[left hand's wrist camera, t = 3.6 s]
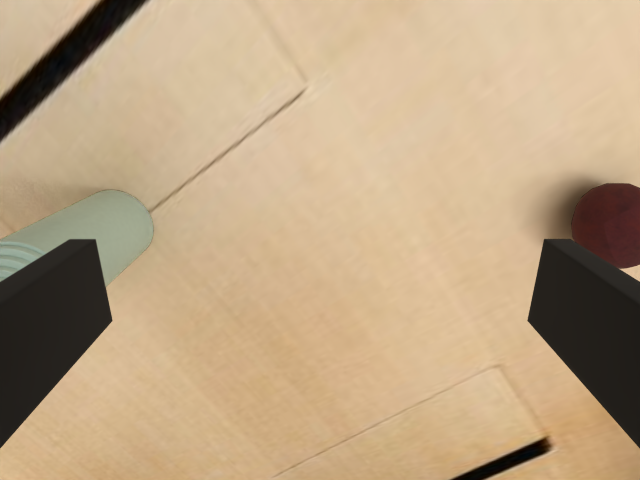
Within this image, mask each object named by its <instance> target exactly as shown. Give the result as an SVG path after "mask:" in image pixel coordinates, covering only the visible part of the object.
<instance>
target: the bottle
mask: <svg viewBox="0 0 640 480" xmlns="http://www.w3.org/2000/svg"><path fill="white" fill-rule="evenodd" d="M152 237H153V222H152V219H151V216H150V214H149V212H148V211H147V209H146V208H145V206H144V205H143V204H142V203H141V202H140V201H139V200H137V199H136V198H135V197H133V196H131V195H129V194H127V193H125V192H122V191H117V190H104V191H100V192H97V193H95V194H93V195H91V196H89V197H87V198H85V199H83V200H81V201H79V202H77V203H75V204H73V205H71V206H68V207H66V208H64V209H62V210H60V211H58V212H56V213H54V214H52V215H50V216H48V217H46V218H44V219H42V220H40V221H37V222H35V223H33V224H31V225H29V226H27V227H25V228H23V229H21V230H19V231H17V232H15V233H13V234H11V235H9V236H6V237H4V238H2V239H0V282H1V281H2V280H4V279H6V278H7V277H9V276H10V275H12V274H14V273H15V272H17V271H19V270H20V269H22V268H23V267H25V266H27V265H28V264H30V263H32V262H33V261H35V260H36V259H38V258H40V257H41V256H43V255H45V254H46V253H48V252H49V251H51V250H53V249H54V248H56V247H58V246H59V245H61V244H62V243H64V242H66V241H67V240H69V239H96V242H97V247H98V252H99V257H100V262H101V267H102V272H103V277H104V282H105V287H106V286H107V285H109V284H110V283H111V282H112V281H113V280H114V279H115V278H116V277H117V276H118V275H119V274H120V273H121V272H122V271H123V270H124V269H125V268H127V267H128V266H129V265H130V264H131V263H132V262H133V261H134V260H135V259H136V258H137V257H138V256H139V255H140V254H141V253H142V252H143V251H145V250H146V248H147V247H148V246H149V244H150V243H151V240H152Z"/></svg>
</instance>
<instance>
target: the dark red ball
mask: <svg viewBox="0 0 640 480" xmlns="http://www.w3.org/2000/svg"><path fill="white" fill-rule="evenodd" d="M571 224H572V237H573V239H574V241H575V242H576V243H578V244H579V245H581V246H582V247H584V248H586V249H587V250H589V251H591V252H592V253H594V254H595V255H597V256H599V257H600V258H602V259H604V260H605V261H607V262H608V263H610V264H612V265H613V266H615V267H617V268H619V269H622V268H629V267H634V266H637V265H640V188H639V187H636V186H634V185H631V184H623V183H607V184H604V185H601V186H598V187H595V188H593V189H591V190H590V191H589V192H588V193H586V194H585V195H584V196H583V197H582V198H581V200H580V201H579V203H578V204H577V206H576V209H575V212H574V216H573V219H572V223H571Z"/></svg>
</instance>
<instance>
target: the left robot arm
mask: <svg viewBox="0 0 640 480" xmlns="http://www.w3.org/2000/svg"><path fill="white" fill-rule="evenodd" d="M111 322H112V316H111V311H110V306H109V301H108V296H107V291H106V287H105V282H104V277H103V272H102V267H101V262H100V257H99V252H98V247H97V242H96V239H69V240H67V241H66V242H64V243H62V244H61V245H59V246H58V247H56V248H54V249H53V250H51V251H49V252H48V253H46V254H45V255H43V256H41V257H40V258H38V259H36V260H35V261H33V262H32V263H30V264H28V265H27V266H25V267H23V268H22V269H20V270H19V271H17V272H15V273H14V274H12V275H10V276H9V277H7V278H6V279H4V280H2V281H1V282H0V448H1V447H2V446H3V445H4V443H5V442H6V441H7V440H8V439H9V438H10V437H11V436H12V434H13V433H14V432H15V431H16V430H17V429H18V428H19V426H20V425H21V424H22V423H23V422H24V421H25V420H26V418H27V417H28V416H29V415H30V414H31V413H32V412H33V410H34V409H35V408H36V407H37V406H38V405H39V404H40V403H41V401H42V400H43V399H44V398H45V397H46V396H47V395H48V393H49V392H50V391H51V390H52V389H53V388H54V387H55V385H56V384H57V383H58V382H59V381H60V380H61V379H62V378H63V376H64V375H65V374H66V373H67V372H68V371H69V370H70V368H71V367H72V366H73V365H74V364H75V363H76V362H77V360H78V359H79V358H80V357H81V356H82V355H83V354H84V353H85V351H86V350H87V349H88V348H89V347H90V346H91V345H92V343H93V342H94V341H95V340H96V339H97V338H98V337H99V335H100V334H101V333H102V332H103V331H104V330H105V329H106V327H107V326H108V325H109V324H110V323H111ZM528 322H529V323H530V324H531V325H532V326H533V327H534V329H535V330H536V331H537V332H538V333H539V334H540V335H541V337H542V338H543V339H544V340H545V341H546V342H547V343H548V345H549V346H550V347H551V348H552V349H553V350H554V351H555V353H556V354H557V355H558V356H559V357H560V358H561V359H562V360H563V362H564V363H565V364H566V365H567V366H568V367H569V368H570V370H571V371H572V372H573V373H574V374H575V375H576V376H577V378H578V379H579V380H580V381H581V382H582V383H583V384H584V385H585V387H586V388H587V389H588V390H589V391H590V392H591V393H592V395H593V396H594V397H595V398H596V399H597V400H598V401H599V403H600V404H601V405H602V406H603V407H604V408H605V409H606V410H607V412H608V413H609V414H610V415H611V416H612V417H613V418H614V420H615V421H616V422H617V423H618V424H619V425H620V426H621V428H622V429H623V430H624V431H625V432H626V433H627V434H628V436H629V437H630V438H631V439H632V440H633V441H634V442H635V443H636V445H637V446H638V447H639V448H640V282H639V281H638V280H636V279H634V278H633V277H631V276H630V275H628V274H626V273H625V272H623V271H621V270H620V269H618V268H617V267H615V266H613V265H612V264H610V263H608V262H607V261H605V260H604V259H602V258H600V257H599V256H597V255H595V254H594V253H592V252H591V251H589V250H587V249H586V248H584V247H582V246H581V245H579V244H578V243H576V242H574V241H573V240H571V239H544V242H543V247H542V252H541V257H540V262H539V267H538V272H537V277H536V282H535V287H534V291H533V296H532V301H531V306H530V311H529V316H528Z"/></svg>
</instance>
